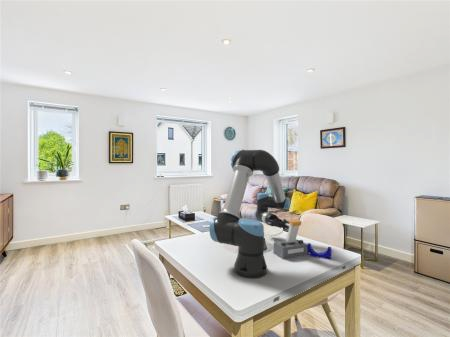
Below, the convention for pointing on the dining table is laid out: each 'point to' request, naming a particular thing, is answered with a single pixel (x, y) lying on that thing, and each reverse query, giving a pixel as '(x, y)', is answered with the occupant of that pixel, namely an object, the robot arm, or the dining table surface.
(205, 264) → the dining table surface
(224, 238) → the robot arm
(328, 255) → the cable clip
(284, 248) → the block
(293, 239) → the breaker lever
